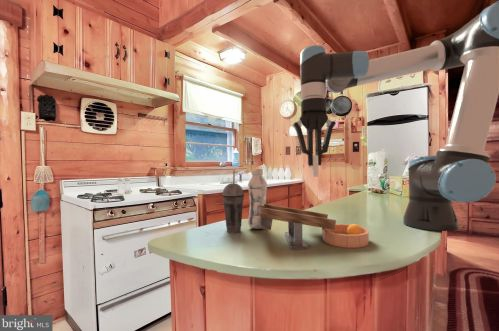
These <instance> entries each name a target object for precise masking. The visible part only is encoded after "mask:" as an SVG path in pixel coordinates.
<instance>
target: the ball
mask: <svg viewBox="0 0 499 331" xmlns="http://www.w3.org/2000/svg"><path fill="white" fill-rule="evenodd" d="M348 225H349V226H348V228H347V233H348V235H358V234H362V228H361V227H362V226H360V225H359V224H357V223H352V224H348Z"/></svg>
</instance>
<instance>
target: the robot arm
mask: <svg viewBox="0 0 499 331" xmlns="http://www.w3.org/2000/svg"><path fill="white" fill-rule="evenodd" d="M299 58H300V61H299V73H300V75H299V76H300V100H301V102H300V109H301V110H300V116H299V120H297V121H296V122H294V123H293V124H292V127H293V128H294V130H295V132H296V135H297V138H298V144H299V146H300V151H301V153H302V154H305V155H306V156H307V164H308V166H310V167H311V170H310V172H311V177H313V178H316V177H317V178H318V177H319V176H320V175H319V166H322V155H323V154H325V153H328V151H329V145H330V142H331V141H330V140H331V137H332V132H333V129H334V127H335V126H336V121H332V120H331V119H330V118H329V116H328V115H327V100H326V98H327V90H328V91H329V92H331V93H333V94H338V93H341V92H344V91H345V90H346V89H350V88H354V87H359V86H363V85H367V84H371V83H375V82H376V83H377V82H380V81H385V80H390V79H394V78H398V77H402V76H403V77H404V76H407V75H411V74H416V73H420V72H425V71H429V70H431V71H433V72H440V71H442V70H443V71H444V70H448V69H449V70H450V69H453V68H454V69H455V68H459V67H463V66H464V68H463V71H462V72H463V73H462V76H461V80H460V84H459V88H458V92H457V96H456V101H455V103H454V104H455V105H454V109H453V113H452V116H451V121H450V124H449V128H448V133H447V137H446V141H445V145H443V146H442V147H441V148H439V149H437V150H436V154H435V155H423V156H418V157H417V156H416V157H413V158H411V159H410V160H409V161H408V162H409V163H408V167H407V168H408V169H407V170H408V204H407V206H406V209H405V212H404V214H403V217H402V218H403V219H402V222H403V224H404V225H406V226H409V227H411V228H415V229H420V230H427V231H435V232H436V231H437V232H453V231H457V230H459V219H458V218H457V214H456V212H455V210H454V208H453V205H452V202H454V203H455V202H456V203H474V202H478V201H480V200H482V199H484V198H486V197H487V196H489V195H490V193H492V191H493V189H494V188H495V185H496V181H497V177H496V176H497V175H496V172H495V171H494V170H493V167H492V166H491V165H490V164H489V163H490V160H491V155H489V154H488V153H487V152H486V151H485V148H486V145H487V141H488V136H489V134H490V130H491V125H492V121H493V118H494V114H495V109H496V107H497V106H496V105H497V103H498V99H499V0H498V1H495V2H494V3H492V4H491V5H490V6H487V7H485V8H484V9H482V11H481V12H480V13H479V14H477V15H476V16H475V17H474V18H472V19H471V20H470V21H469V22H467V23H466V24H464V25H463V26H462V27H461V28H459V29H458V30H457V31H455V32H454V33H451V34H450V35H448V36H446V37H444V38H441V39H436V40H433V42H431V43H430V45H426V46H421V47H418V48H415V49H410V50H407V51H406V50H405V51H402V52H398V53H393V54H390V55H389V54H388V55H385V56H380V57H376V58H372V59H370V57H369V53H368V52H367V51H364V50H353V51H343V52H342V51H341V52H336V53H334V52H332V53H327V51H326V48H325V47H324V46H322V45H315V44H314V45H310V46H309V45H308V46H306V47H304V48H303V49H302V51H301V52H300V56H299ZM325 124H326V125H325ZM302 125H303V127H304V128H305V129H306V135H307V136H306V139H307V141H306V142H307V144H306V142H305V137H304V134H303V129H302ZM324 126H325V127H326V129H325V133H324V137H323V142H322V132H323V130H322V129H323V128H324ZM314 133H315V154H314Z"/></svg>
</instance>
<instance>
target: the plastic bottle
mask: <svg viewBox="0 0 499 331" xmlns="http://www.w3.org/2000/svg"><path fill="white" fill-rule="evenodd" d="M251 175H252V176H251V178H250V179H249V181H248V184H247V188H248V196H249V211H248V212H249V213H248V220H247V223H248V227H249V228H250V229H254V230H262V228H260V226H259V219H260V215H259V208H260V203H261V202H264V204H267V203H266V202H267V191H268V182H267V181H266V179H265V178H264V177H263V175H264V170H263V168H252V169H251Z"/></svg>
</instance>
